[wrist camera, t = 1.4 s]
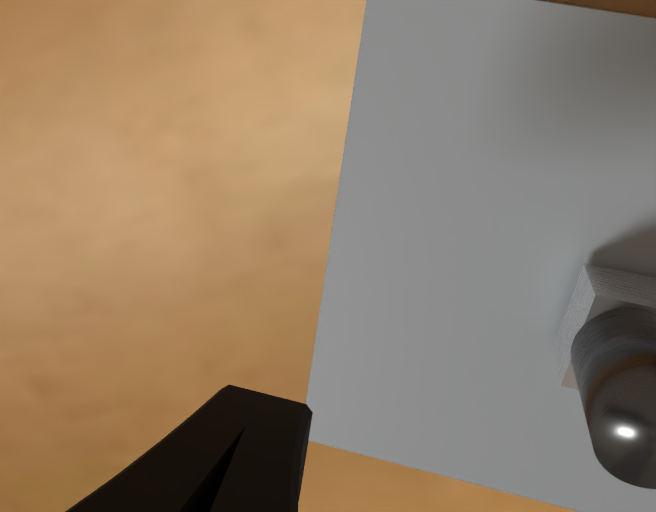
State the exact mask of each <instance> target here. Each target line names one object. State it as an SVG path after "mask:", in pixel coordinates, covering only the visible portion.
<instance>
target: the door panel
mask: <svg viewBox="0 0 656 512" xmlns="http://www.w3.org/2000/svg"><path fill="white" fill-rule="evenodd" d="M583 263H587V264H592V265H596V266H601V267H606V268H611V269H616V270H620V271H625V272H630V273H635V274H639V275H644V276H649V277H654V278H656V18H655V17H649V16H642V15H636V14H629V13H623V12H616V11H610V10H604V9H597V8H591V7H584V6H578V5H571V4H565V3H558V2H552V1H545V0H367V1H366V8H365V14H364V21H363V28H362V34H361V41H360V47H359V54H358V61H357V67H356V74H355V81H354V87H353V94H352V101H351V107H350V114H349V120H348V127H347V134H346V140H345V147H344V154H343V160H342V167H341V173H340V180H339V187H338V193H337V200H336V207H335V213H334V220H333V226H332V233H331V240H330V246H329V253H328V260H327V266H326V273H325V279H324V286H323V293H322V299H321V306H320V313H319V319H318V326H317V332H316V339H315V346H314V352H313V359H312V366H311V372H310V379H309V385H308V392H307V399H306V404H307V405H308V407H309V408H310V409H311V411H312V412H313V414H312V421H311V427H310V433H309V440H308V441H312V442H316V443H320V444H324V445H327V446H331V447H335V448H339V449H343V450H347V451H350V452H354V453H358V454H362V455H366V456H369V457H373V458H377V459H381V460H385V461H389V462H392V463H396V464H400V465H404V466H408V467H411V468H415V469H419V470H423V471H427V472H430V473H434V474H438V475H442V476H446V477H450V478H453V479H457V480H461V481H465V482H469V483H472V484H476V485H480V486H484V487H488V488H491V489H495V490H499V491H503V492H507V493H511V494H514V495H518V496H522V497H526V498H530V499H533V500H537V501H541V502H545V503H549V504H553V505H556V506H560V507H564V508H568V509H572V510H575V511H579V512H656V489H647V488H641V487H637V486H634V485H630V484H628V483H625V482H623V481H621V480H619V479H617V478H616V477H614V476H613V475H611V474H610V473H609V472H608V471H607V470H605V469H604V468H603V466H602V465H601V464H600V463H599V461H598V459H597V458H596V455H595V453H594V450H593V446H592V442H591V438H590V434H589V430H588V426H587V422H586V418H585V414H584V410H583V406H582V402H581V398H580V394H579V390H576V389H572V388H568V387H563V386H561V385H560V380H559V375H558V371H557V366H556V361H555V356H554V352H553V345H554V342H555V339H556V337H557V334H558V331H559V328H560V326H561V323H562V320H563V317H564V315H565V312H566V309H567V306H568V304H569V301H570V298H571V295H572V293H573V290H574V287H575V284H576V282H577V279H578V276H579V273H580V271H581V268H582V265H583Z"/></svg>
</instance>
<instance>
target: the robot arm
mask: <svg viewBox="0 0 656 512" xmlns="http://www.w3.org/2000/svg"><path fill="white" fill-rule="evenodd" d="M312 414H313V412H312V411H311V409H310V408H309V407H308V405H307V404H303V403H299V402H296V401H292V400H288V399H284V398H280V397H276V396H272V395H268V394H264V393H260V392H256V391H252V390H248V389H244V388H240V387H236V386H233V385H227V386H226V387H224V388H222V389H221V390H220V391H218V392H217V393H216V394H215V395H214V396H213V397H212V398H211V399H209V400H208V401H207V402H206V403H205V404H204V405H203V406H201V407H200V408H199V409H198V410H197V411H196V412H194V413H193V414H192V415H191V416H190V417H189V418H187V419H186V420H185V421H184V422H183V423H182V424H180V425H179V426H178V427H177V428H176V429H174V430H173V431H172V432H171V433H169V434H168V435H167V436H166V437H165V438H163V439H162V440H161V441H160V442H158V443H157V444H156V445H155V446H153V447H152V448H151V449H150V450H148V451H147V452H146V453H144V454H143V455H142V456H141V457H139V458H138V459H137V460H135V461H134V462H133V463H132V464H130V465H129V466H128V467H126V468H125V469H124V470H123V471H121V472H120V473H119V474H117V475H116V476H115V477H113V478H112V479H111V480H109V481H108V482H107V483H105V484H104V485H102V486H101V487H100V488H98V489H97V490H95V491H94V492H92V493H91V494H90V495H88V496H87V497H85V498H84V499H83V500H81V501H80V502H78V503H77V504H76V505H74V506H73V507H71V508H70V509H68V510H67V511H66V512H298V501H299V496H300V490H301V484H302V477H303V471H304V465H305V458H306V452H307V446H308V440H309V433H310V427H311V421H312Z"/></svg>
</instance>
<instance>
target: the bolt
mask: <svg viewBox="0 0 656 512" xmlns="http://www.w3.org/2000/svg"><path fill="white" fill-rule="evenodd" d="M553 352H554V356H555V361H556V366H557V371H558V375H559V380H560V385H561V386H563V387H568V388H572V389H576V390H579V394H580V398H581V402H582V406H583V410H584V414H585V418H586V422H587V426H588V430H589V434H590V438H591V442H592V446H593V450H594V453H595V455H596V458H597V459H598V461H599V463H600V464H601V465H602V466H603V468H604V469H605V470H607V471H608V472H609V473H610V474H611V475H613V476H614V477H616V478H617V479H619V480H621V481H623V482H625V483H628V484H630V485H634V486H637V487H641V488H647V489H656V278H654V277H649V276H644V275H639V274H635V273H630V272H625V271H620V270H616V269H611V268H606V267H601V266H596V265H592V264H587V263H583V265H582V268H581V271H580V273H579V276H578V279H577V282H576V284H575V287H574V290H573V293H572V295H571V298H570V301H569V304H568V306H567V309H566V312H565V315H564V317H563V320H562V323H561V326H560V328H559V331H558V334H557V337H556V339H555V342H554V345H553Z"/></svg>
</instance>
